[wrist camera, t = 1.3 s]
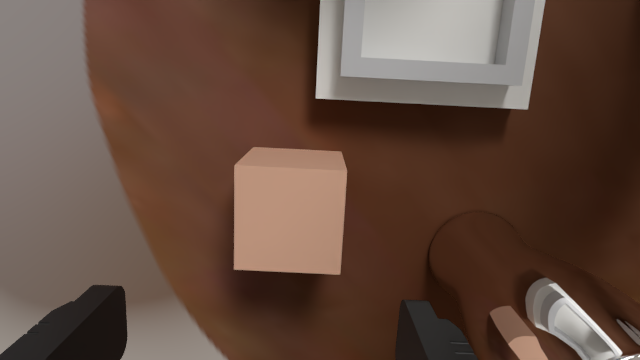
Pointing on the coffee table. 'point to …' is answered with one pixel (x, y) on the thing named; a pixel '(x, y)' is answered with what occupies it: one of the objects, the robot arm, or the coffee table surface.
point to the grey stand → (429, 51)
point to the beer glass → (529, 297)
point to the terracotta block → (289, 210)
